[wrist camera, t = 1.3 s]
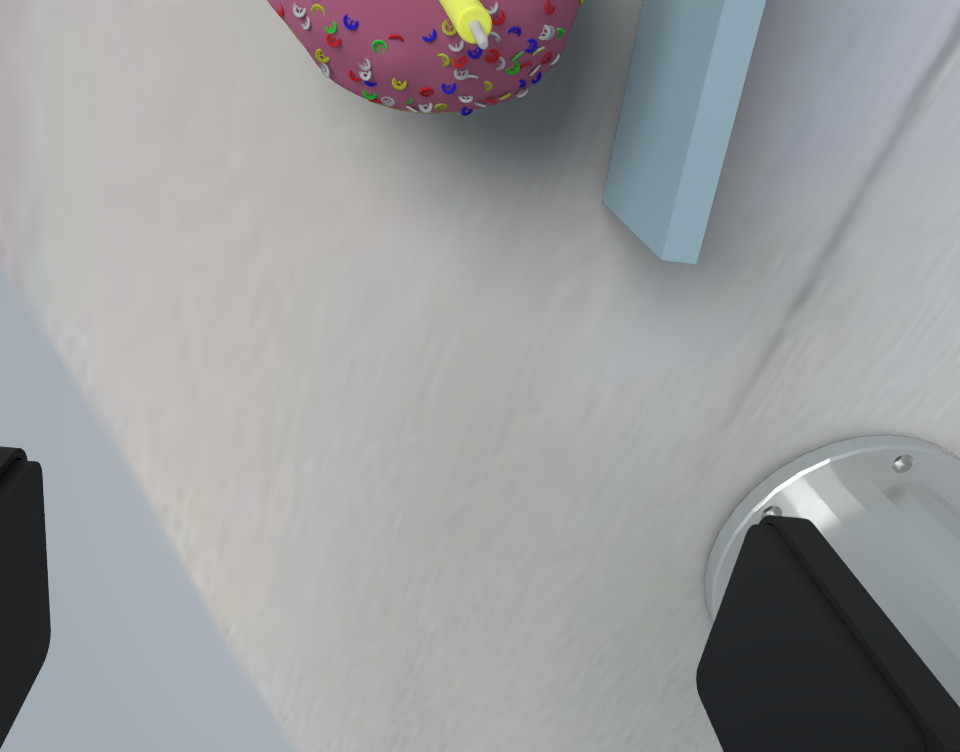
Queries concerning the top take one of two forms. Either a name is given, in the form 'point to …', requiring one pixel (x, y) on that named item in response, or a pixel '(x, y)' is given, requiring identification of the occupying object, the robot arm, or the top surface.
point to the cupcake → (432, 47)
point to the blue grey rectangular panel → (679, 119)
